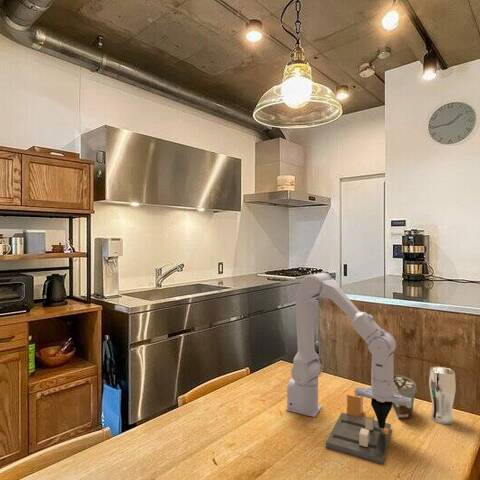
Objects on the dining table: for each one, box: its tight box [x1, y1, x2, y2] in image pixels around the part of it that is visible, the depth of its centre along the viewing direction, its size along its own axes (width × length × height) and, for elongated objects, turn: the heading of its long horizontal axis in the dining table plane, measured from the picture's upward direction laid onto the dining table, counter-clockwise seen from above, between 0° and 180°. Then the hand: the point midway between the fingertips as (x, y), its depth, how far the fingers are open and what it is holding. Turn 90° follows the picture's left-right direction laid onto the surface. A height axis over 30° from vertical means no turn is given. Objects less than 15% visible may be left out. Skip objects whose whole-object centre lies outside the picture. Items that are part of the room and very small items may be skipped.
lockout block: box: [346, 389, 364, 417], centre depth 112 cm, size 4×4×6 cm
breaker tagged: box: [364, 412, 375, 430], centre depth 100 cm, size 2×3×3 cm, turn 151°
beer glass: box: [428, 366, 457, 425], centre depth 108 cm, size 7×7×15 cm
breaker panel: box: [325, 412, 392, 465], centre depth 98 cm, size 14×18×2 cm
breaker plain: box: [359, 428, 369, 447], centre depth 92 cm, size 2×3×3 cm, turn 151°
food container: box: [392, 373, 418, 421], centre depth 112 cm, size 12×6×10 cm, turn 168°
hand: (381, 426), depth 99 cm, fingers closed
